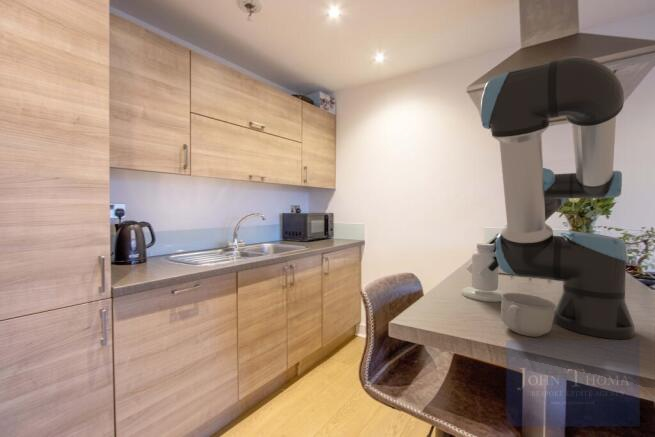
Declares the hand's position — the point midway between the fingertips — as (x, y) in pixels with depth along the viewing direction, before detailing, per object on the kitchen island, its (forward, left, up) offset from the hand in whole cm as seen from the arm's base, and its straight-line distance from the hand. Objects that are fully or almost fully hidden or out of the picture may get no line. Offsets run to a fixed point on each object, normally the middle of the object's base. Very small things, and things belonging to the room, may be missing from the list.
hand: (474, 273), depth 103 cm
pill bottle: (+2, -3, -5) cm, 6 cm away
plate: (+2, -3, -8) cm, 8 cm away
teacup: (-27, -15, -8) cm, 32 cm away
